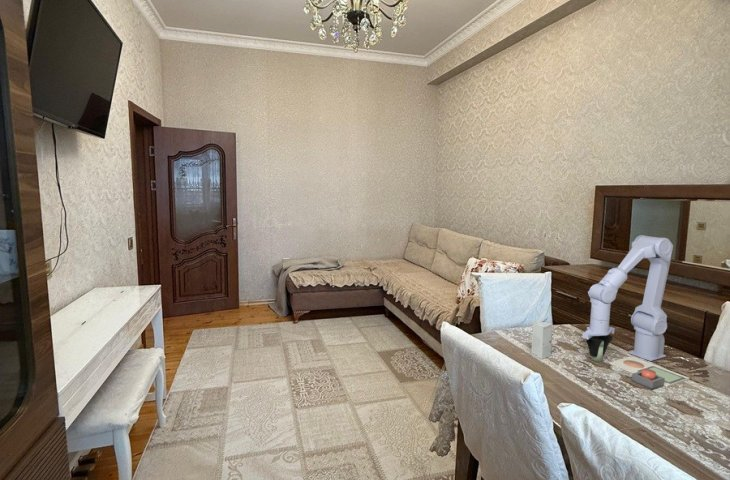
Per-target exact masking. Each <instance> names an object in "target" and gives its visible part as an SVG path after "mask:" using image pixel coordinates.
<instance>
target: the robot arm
mask: <svg viewBox="0 0 730 480" xmlns="http://www.w3.org/2000/svg"><path fill="white" fill-rule="evenodd" d="M673 248H674V244H673V243H672V242H671V240H670V239H669V238H667V237H656V236H651V235H650V236H649V235H644V234H643V235H642V234H640V235H638V236H636V237H635V239H634V240H633V241H632V242H631V249H630V250H629V251H628V253H627V254H626V255H625V257H624V258H623V259H622V261H621V262H620V264H619V265H618V266H617V267H613V268H611V269H608V271H607V273H606V274H605V275H604V276H603V277H602V279H601V280H600V281H599V282H598V283H595V284H592V286H591V287H590V288H589V290H588V291H587V294H588V297H589V298H590V300H589V302H590V303H591V306H590V319H589V320H590V322H589V326H587V327H586V330H585V331H583V332H582V338H583V339H585V341H586V344H587V347H588V351H589V355H590V357H591V356H593V357H597V355H598V350H599V346H600V344H601V342H602V340H603V341H604V346H603V356H605V353H606V351H607V348H608V346H609V344H610V343H611V342H612V340H613V339H614V338H613V337H614V336H613V335H610V334H615V331H616V330H615V329H616V327H611V326H610V319H611V318H610V315H611V304H612V303H613V302H614V301H615V300H616V297H617V293H618V290H619V289H620V288H621V286H622V285H623V284H624V283H625V282H626V281H627V280H628V273H630V272H631V271H632V270H633V269H634V267H636V265H638V264H639V263H640V262H641V261H642V260H643V259H647V260H648V261H649V263H650V264H649V270H648V273H647V275H648V276H647V279H646V284H645V289H644V293H643V299H642V304H640V305H638V306H635V308H634V312H633V314H632V315H631V318H630V323H631V325H632V326H633V330H635V334H634V344H633V347H634V348H633V349H631V350H629V351H628V352H627V353H628V354H631V355H633V356H635V357H638V358H640V359H644V360H646V361H650V362H653V361H656V360H659V359H662V358H666V357H667V355H666V354H664V349H665V336H664V333H666V330H667V329H668V322H667V320H668V319H667V318H668V315H667V314H666V312H665V311H664V310H663V309H662V304H663V300H664V299H663V297H664V293H665V288H666V283H667V280H668V276H669V269H670V266H671V260H672V253H673V250H674V249H673Z"/></svg>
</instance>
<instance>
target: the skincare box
mask: <svg viewBox="0 0 730 480" xmlns="http://www.w3.org/2000/svg"><path fill="white" fill-rule="evenodd" d="M531 333H532V334H531V335H532V336H531V356H532V357H535V358H537V359H540V360H543V359H546V358H548V357H551V356H552V338H553V337H552V336H553V323H551V322H546V321H544V320H541V321H537V322H535V323H532V332H531Z"/></svg>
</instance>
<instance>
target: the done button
mask: <svg viewBox="0 0 730 480" xmlns="http://www.w3.org/2000/svg"><path fill="white" fill-rule="evenodd" d="M641 376H642V377H644V378H647V379H649V380H655V377H656V372H655V371H653V370H650V369H642V371H641Z"/></svg>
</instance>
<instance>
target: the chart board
mask: <svg viewBox="0 0 730 480" xmlns="http://www.w3.org/2000/svg"><path fill="white" fill-rule="evenodd" d="M609 365H612V366H614V367H617V368H618V369H621V370H624V371H627V372H629V373H632V374H633V373H636V372H639V371H642V369H650V370H653V371H655V372H656V375H658V376H660V377H663V378H665V380H664V386H663V387H666V388H670V387H672V386H675V385H679V384H680V383H684V382H686V381H687V382H688V381H689V380H690V377H688V376H687V375H686V376H685V375H682V374H680V373H677V372H676V371H672V370H669V369H667V368H664V367H661V366H659V365H656V364H653V363H650V362H648V361H645V360H642V359H641V358H640V359H639V358H637V357H634V356H627V357H624V358H619V359H616V360H613V361H610V362H609Z"/></svg>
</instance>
